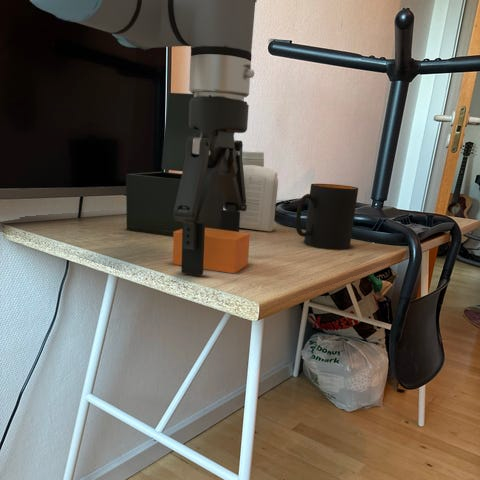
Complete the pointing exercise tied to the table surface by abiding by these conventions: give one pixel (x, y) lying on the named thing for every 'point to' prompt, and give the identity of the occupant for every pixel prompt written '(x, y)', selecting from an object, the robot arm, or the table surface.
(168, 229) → the bin
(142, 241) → the table surface
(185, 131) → the bin lid
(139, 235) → the table surface
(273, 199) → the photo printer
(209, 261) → the block
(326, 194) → the mug
